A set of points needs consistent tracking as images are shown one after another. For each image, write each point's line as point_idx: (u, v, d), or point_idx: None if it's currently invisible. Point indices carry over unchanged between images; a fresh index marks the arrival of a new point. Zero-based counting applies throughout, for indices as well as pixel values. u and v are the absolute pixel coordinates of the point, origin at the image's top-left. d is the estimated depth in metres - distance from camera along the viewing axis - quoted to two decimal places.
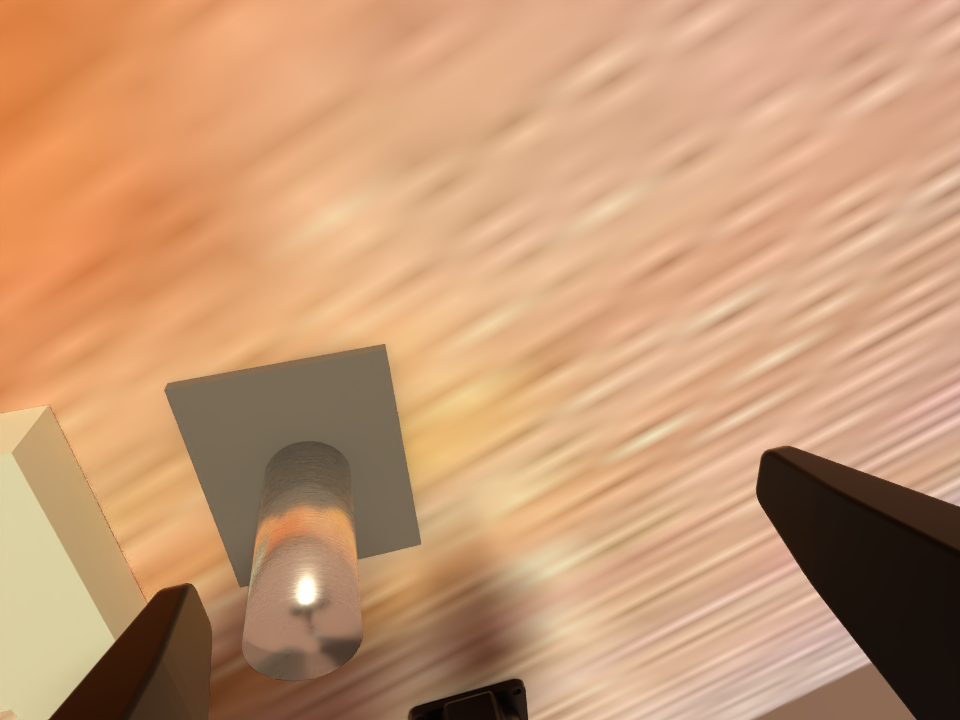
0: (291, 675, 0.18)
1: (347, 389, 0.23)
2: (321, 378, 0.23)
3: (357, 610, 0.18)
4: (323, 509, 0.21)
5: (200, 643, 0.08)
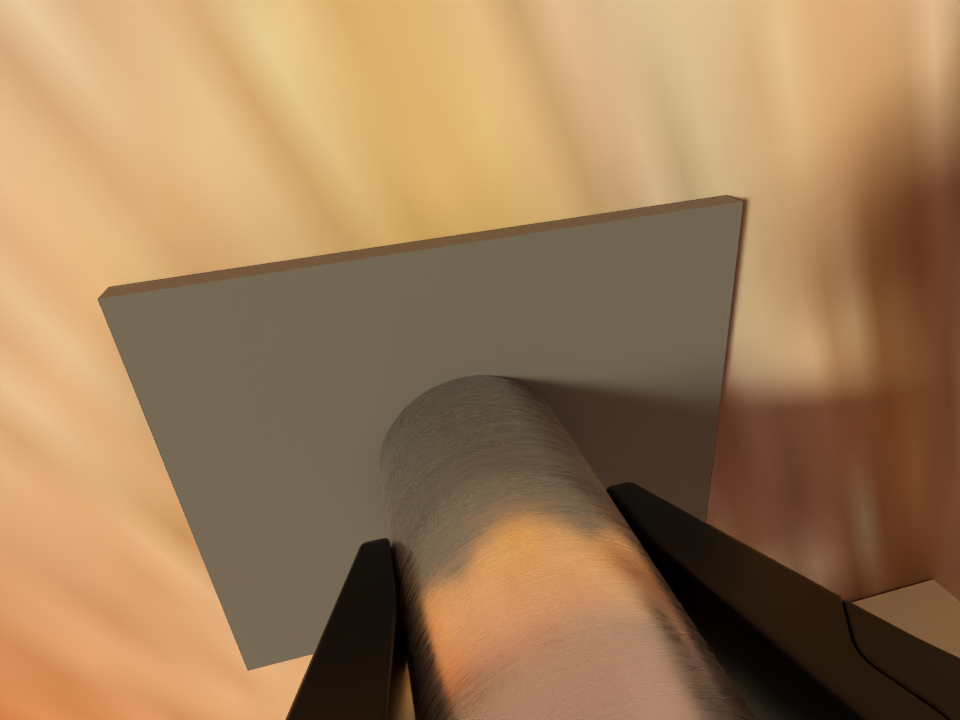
0: None
1: (234, 387, 0.09)
2: (205, 439, 0.10)
3: None
4: (421, 628, 0.07)
5: None
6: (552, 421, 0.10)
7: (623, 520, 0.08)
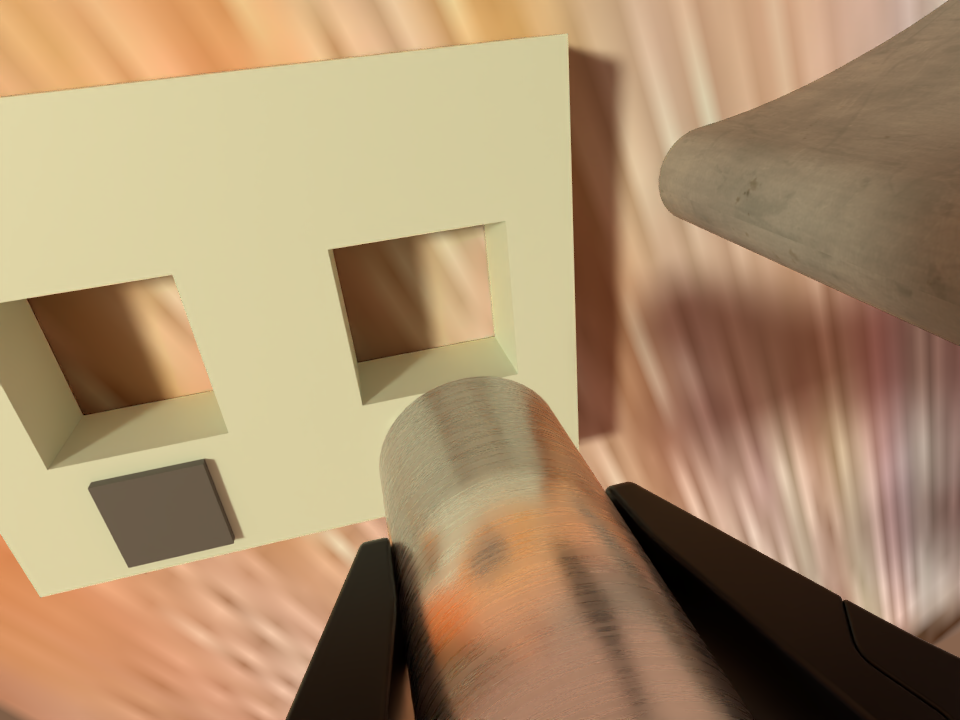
0: None
1: None
2: None
3: None
4: (420, 629, 0.07)
5: None
6: (552, 422, 0.10)
7: (623, 522, 0.08)
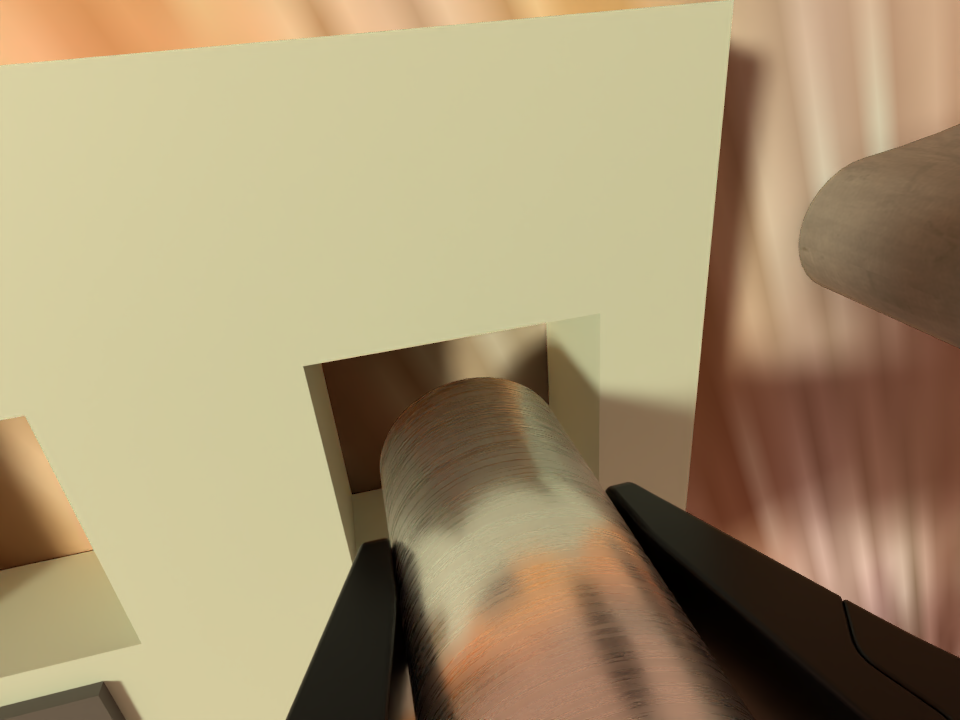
0: None
1: None
2: None
3: None
4: (421, 631, 0.07)
5: None
6: (552, 423, 0.10)
7: (623, 523, 0.08)
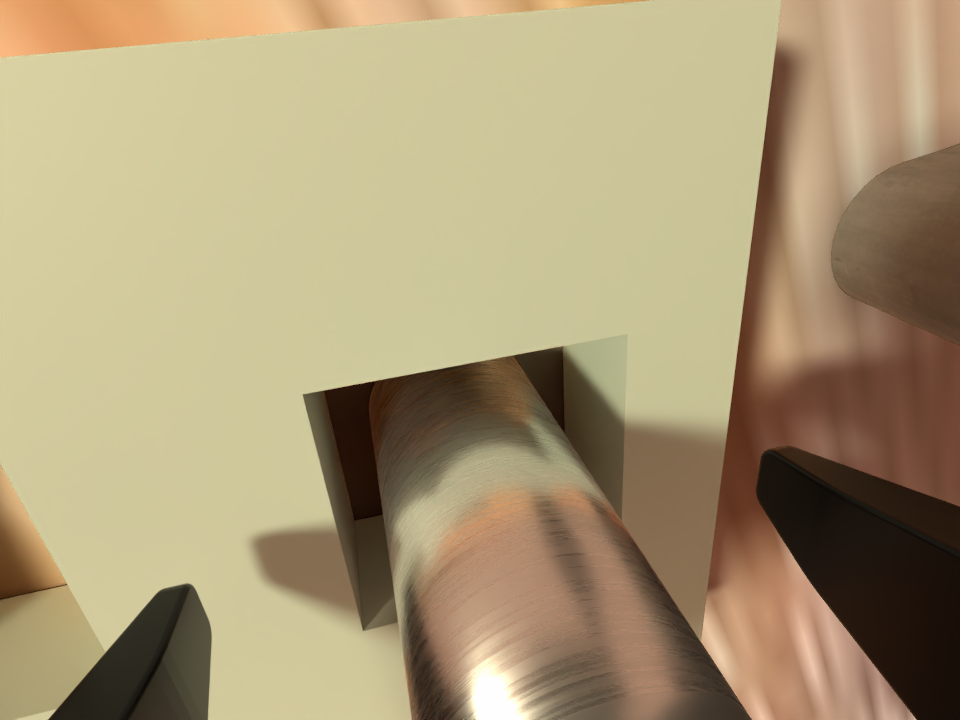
0: None
1: None
2: None
3: (555, 692, 0.05)
4: (397, 514, 0.09)
5: (200, 643, 0.08)
6: (514, 368, 0.12)
7: (566, 439, 0.10)
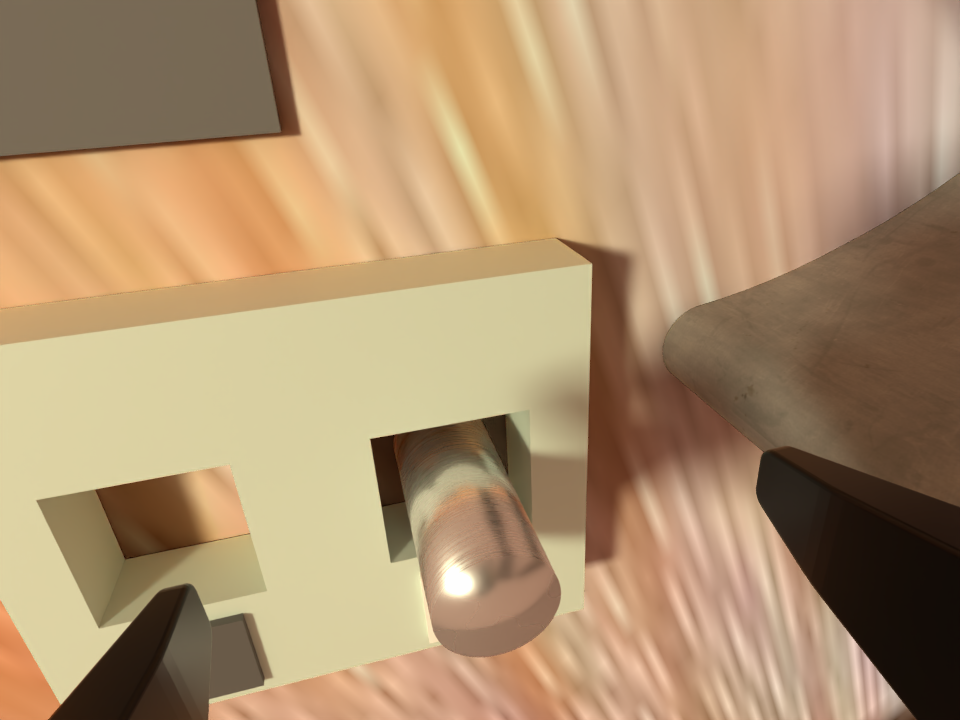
0: (547, 614, 0.16)
1: None
2: None
3: (477, 555, 0.15)
4: (414, 497, 0.18)
5: (200, 643, 0.08)
6: (475, 421, 0.21)
7: (498, 461, 0.19)
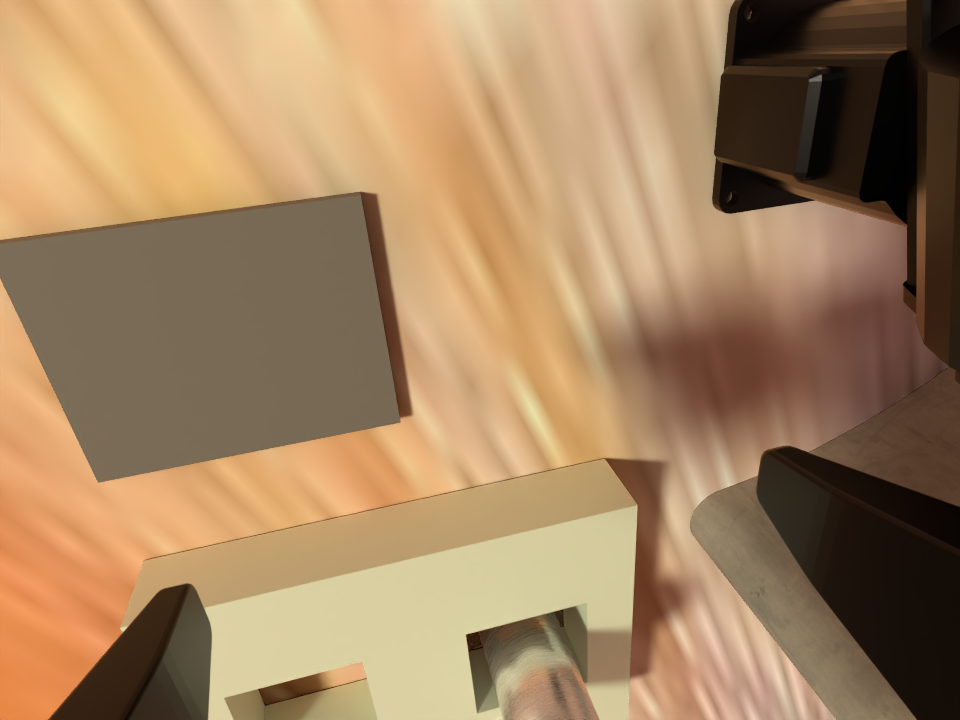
0: None
1: (67, 297, 0.17)
2: (53, 328, 0.17)
3: None
4: (501, 679, 0.23)
5: (200, 643, 0.08)
6: None
7: (563, 641, 0.25)
